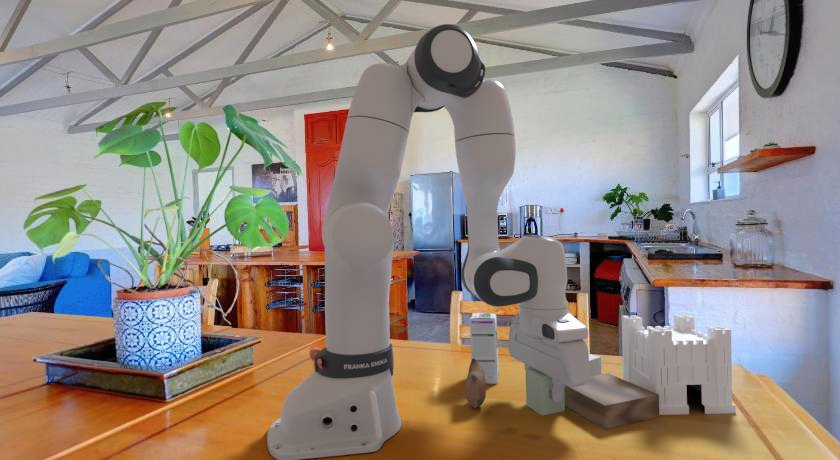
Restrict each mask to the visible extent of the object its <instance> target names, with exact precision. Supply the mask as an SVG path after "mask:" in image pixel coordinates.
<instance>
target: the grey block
mask: <svg viewBox="0 0 840 460" xmlns="http://www.w3.org/2000/svg"><path fill="white" fill-rule="evenodd" d="M596 375H602V356H599V355H595V354H591V353H589V377H590V376H596Z"/></svg>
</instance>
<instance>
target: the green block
mask: <svg viewBox="0 0 840 460" xmlns="http://www.w3.org/2000/svg"><path fill="white" fill-rule="evenodd" d="M553 386H554V384H553V383H552V378H551V377H549V376H547V375H545V374H543V373H541V372H540V371H538V370H536V369H534V368H528V369H526V371H525V396H526V397H525V398H526V399H525V401H526V402H525V403H526V404H525V405H526V406H527V407H528V408H530V409H531V410H532V411H534V412H536V413H537V414H539V415H540V416H547V415H551V414H552V415H553V414H559V413H562V412H563V413H564V412H566V411H565V410H566V406H565V392H564V390H563V392H562V401H560V402H554V401H552V400H551V399H550V398H549V390H552V389H553Z"/></svg>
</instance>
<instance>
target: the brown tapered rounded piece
mask: <svg viewBox="0 0 840 460" xmlns="http://www.w3.org/2000/svg"><path fill="white" fill-rule="evenodd" d="M464 389H465V393H464V394H465V398H466V400H467V403H468V404H469V406H471V407H472V408H474V409H476V408H479V407H480V406H482V405H483V403H484V402H485V400H486V397H487V396H486V395H487V384H486V380H485V374H484V370H483V368H482V366H481V365H480V363H479V362H478V361H477V360H476V359H474V358H473V359H472V361H471V360H470V364H469V367H468V373H467V376H466V380H465V387H464Z"/></svg>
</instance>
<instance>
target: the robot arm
mask: <svg viewBox="0 0 840 460" xmlns="http://www.w3.org/2000/svg"><path fill="white" fill-rule="evenodd" d="M415 46H416V47H415V48H414V49H413V51H412V52H411V54H409V55H410V56H409V57H408V58H407V60H406V62H405V63H403V64H402V65H394V64H393V63H392V64H391V63H387V62H378V63H374V64H371V65H369V66H368V67H367V68H365V69H364V71H363V72H362V74H361V76H360V78H359V80H358V82H357V85H356V88H355V89H354V90H355V91H354V93H353V96H352V100H351V102H350V105H349V110H348V115H347V118H346V123H345V127H344V131H343V135H342V142H341V146H340V151H339V156H338V160H337V164H336V169H335V173H334V177H333V181H332V185H331V186H332V187H331V190H330V194H329V199H328V203H327V208H326V212H325V215H324V216H325V217H324V221H323V224H322V226H323V227H322V231H321V238H322V243H323V246H324V316H325V317H324V319H325V320H324V321H325V322H324V323H325V346H324V348H322V349H320V348H319V347H318V346H313V347H312V348H310V350H309V356H310V357H309V358H310V359H311V360H312V361H313V365H314V368H313V369H314V371H313V372H312V373H311V374H309V376H307V377H306V378H304V380H302V382H301V383H299V384H298V385H297V386H296V387H294V388H293V389H292V390H291V391H290V392H289V393H288V394H287V395H286V398H285V400H284V402H283V405H282V410H281V414H280V418H278V419H276V420H275V421H273V422H272V424H271V425H270V427H269V429H268V431H267V439H266V444H267V450H268V453H269V454H270V455H271V456H272V457H273V458H274V459H276V460H307V459H315V458H316V459H318V458H326V457H338V456H346V455H355V454H356V455H357V454H366V453H367V454H368V453H373V452H377V451H378V450H380V449H381V447H383V444H384V442H386V441H388V440H389V439H390V438H392V437H393V436H395V435H396V434H397V433H398V432H399V431H400V429H401V427H402V420H401V417H400V414H399V410H398V407H397V402H396V396H395V391H394V385H393V384H394V383H393V375H394V367H395V365H394V361H395V360H394V350H393V344H392V343H391V338H390V337H391V335H390V333H391V332H390V289H391V283H392V282H391V280H392V271H393V270H392V268H393V251H394V249H393V248H394V228H393V225H392V222H391V220H390V218H389V217H388V213H389V209H390V206H391V204H392V203H391V202H392V200H393V197H394V194H395V191H396V188H397V186H398V183H399V180H400V178H401V172H402V168H403V163H404V158H405V153H406V148H407V143H408V138H409V134H410V128H411V124H412V123H411V122H412V118H413V115H414V113H432V112H437V111H439V110H441V109H443V108H444V109H445V110H447V111H446V112H448V115H449V116H450V118H451V121H452V125H453V129H454V131H453V132H454V134H453V135H454V146H455V147H454V148H455V155H456V163H457V167H458V171H459V172H458V173H459V177H460V180H461V186H462V190H463V195H464V202H465V211H466V227H467V228H466V229H467V231H466V232H467V250H466V254H465V258H464V260H463V263H462V266H461V271H460V274H461V275H460V277H461V282H462V285H463V287H464V289H465V290H466V291H467V292H468V293H469V294H470V295H471V296H473V297H475V298H477V299H479V301H482V302H483V303H484V304H486V305H488V306H491V307H495V308H496V307H498V308H499V307H507V306H512V305H517V304H518V312H517V313H516V314H515V315H514V316H513V317H512V323H511V324H510V327H509V332H508V333H509V334H508V353H509V355H510V356H509V357H511V358H513V359H515V360H517V361H518V362H520V363H522V364H524V371H525V372H526V369H528V368H534V369H536V370H538V371H540V372H541V373H543V374H545V375H547V376H549V377H551V378H552V383H553V384H554V386H553V389H552V390H549V398H550V399H551V400H552V401H554V402H560V401H562V392H563V390H564V388H565V386H566V385H567V386H568V387H578V386H583V385H585V384H586V383H587V381H588V380H589V354H590V353H589V348H588V346H587V345H588V344H587V343H586V342H585V341H584V339H588V337H589V329H588V327H587V326H586V325H585V324H584V323H582V322H581V321H580V320H579V319H577V318H576V317H575V316H574V315H573V314H572V313H570V312H569V305H568V300H567V297H566V289H567V286H568V268H567V267H568V265H567V259H566V252H565V248H564V245H563V244H562V242H561V241H560V240H558V239H557V238H556V237H555V238H554V237H550V236H544V235H537V234H524V235H522V236H521V237H520V238H519V239H518V240H516V241H515V242H513V243H512V244H511V245H509V246H506V247H505V248H504V247H503V249H500V243H499V224H498V223H499V222H498V218H499V217H498V206H499V202H500V199H501V195H502V194H503V192H504V189H505V188H506V186H507V184H508V183H509V182H510V180H511V178H512V177H513V174H514V172H515V166H516V164H515V163H516V149H517V148H516V138H515V135H516V134H515V126H514V125H515V124H514V121H513V120H514V119H513V114H512V109H511V105H510V100H509V98H508V93H507V90H506V89H505V87H504V85H503V84H502V83H501V82H499V81H497V80H496V79H492V78H487V77H485V76H486V66H485V63H484V62H483V60H482V59H481V57H480V54H479V53H480V52H479V50H478V47H477V45H476V42H475V41H474V39H473V38H472V37H471V35H470V34H469V33H468V32H467V31H466V30H465V29H464V28H463V27H460V26H459V25H455V24H452V23H450V24H449V23H445V24H441V25H440V24H439V25H437V26H434V27H432V28H431V29H429V30H428V31H427V32H426V33H424V35H422V37H421V38H420V39H419V40H418V42H417V44H416V45H415Z"/></svg>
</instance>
